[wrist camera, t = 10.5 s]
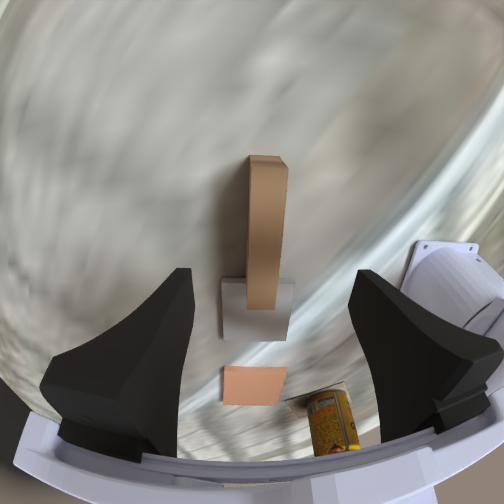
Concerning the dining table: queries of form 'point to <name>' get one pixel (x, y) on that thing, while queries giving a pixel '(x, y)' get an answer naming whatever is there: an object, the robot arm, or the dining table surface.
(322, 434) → the condiment
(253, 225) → the tall wooden plank
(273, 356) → the dining table surface
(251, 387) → the tile
